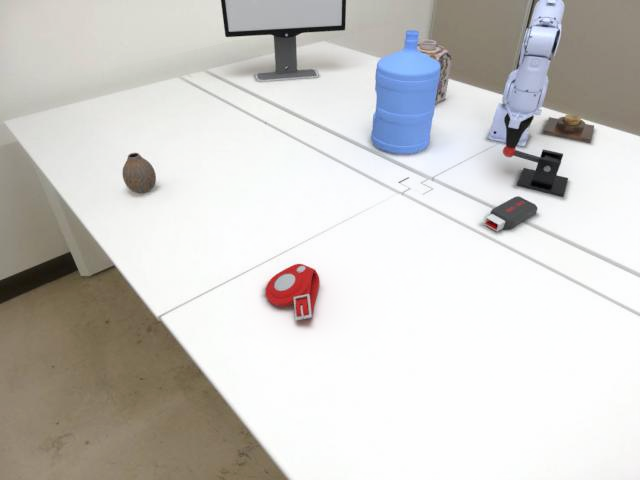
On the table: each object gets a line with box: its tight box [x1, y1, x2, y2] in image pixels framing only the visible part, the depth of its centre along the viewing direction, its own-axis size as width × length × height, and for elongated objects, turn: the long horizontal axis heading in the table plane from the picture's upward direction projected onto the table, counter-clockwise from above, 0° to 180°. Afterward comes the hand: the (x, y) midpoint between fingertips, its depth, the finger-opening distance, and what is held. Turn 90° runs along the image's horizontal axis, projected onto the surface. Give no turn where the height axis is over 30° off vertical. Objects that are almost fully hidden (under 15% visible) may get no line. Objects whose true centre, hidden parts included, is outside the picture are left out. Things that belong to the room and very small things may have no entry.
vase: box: [122, 152, 157, 195], centre depth 103 cm, size 7×7×9 cm
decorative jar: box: [417, 39, 453, 105], centre depth 141 cm, size 12×12×18 cm
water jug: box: [370, 29, 441, 155], centre depth 115 cm, size 16×16×28 cm
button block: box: [542, 116, 595, 144], centre depth 127 cm, size 12×10×3 cm
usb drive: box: [483, 195, 538, 232], centre depth 95 cm, size 5×12×3 cm, turn 126°
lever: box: [502, 145, 558, 164], centre depth 105 cm, size 12×3×3 cm, turn 61°
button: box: [563, 113, 582, 125], centre depth 126 cm, size 4×4×2 cm
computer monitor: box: [220, 0, 347, 83], centre depth 153 cm, size 41×8×40 cm, turn 102°
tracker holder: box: [265, 263, 320, 321], centre depth 77 cm, size 12×4×10 cm
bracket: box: [516, 149, 569, 198], centre depth 104 cm, size 10×8×7 cm
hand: (511, 145), depth 105 cm, fingers closed, pressing on lever
